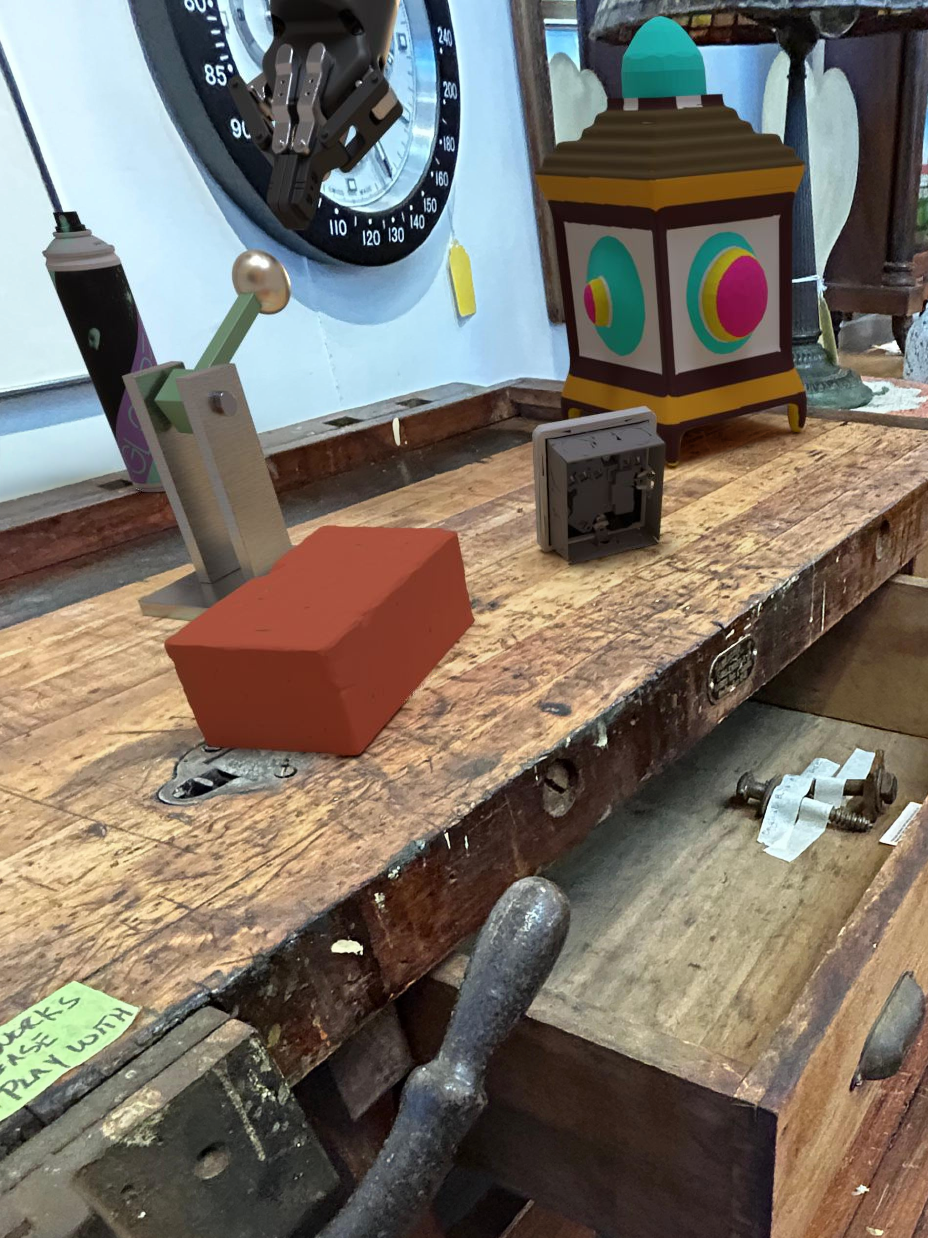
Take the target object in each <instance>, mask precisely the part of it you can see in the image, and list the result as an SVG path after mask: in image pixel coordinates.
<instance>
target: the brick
mask: <svg viewBox="0 0 928 1238" xmlns="http://www.w3.org/2000/svg"><path fill="white" fill-rule="evenodd" d="M459 540H460V539H459V533H458V532H457V531H456V530H447V529H445V528H441V527H397V526H396V527H385V526H367V525H365V526H344V525H343V526H342V525H336V524H334V525H331V524H330V525H321V526H320V527H318V528H317V529H316V530H315V531H313V532H312V533H311V534H309V535H308V536H306V537H305V538H304V539H303V540H302V541H301V542H300V543H299V544H297V546H296V547H294V548H293V549H291V550H290V551H289V552H287V553H286V554H285V555H283V556H282V557H281V558H280V559H278V560H277V561H276V563H275V564H274V565H273V566H272V568H271V570H270V573H269V574H268V575H266V576H262V577H258V578H253V579H251V580H250V581H248V582H246V583H245V584H244V585H242V586H241V587H240V588H238V589H236V590H235V591H234V592H232V593H231V594H229V595H228V596H226V597H225V598H223V599H222V600H220V601H219V602H217V603H216V604H214V605H213V606H212V607H210V608H209V609H208V610H206V611H205V612H203V613H202V614H201V615H199V616H198V617H197V618H195V619H194V620H193V621H189V622H188V623H187V624H185V625H184V626H183V627H181V628H180V629H179V630H178V631H177V632H175V633H173V634H172V635H170V636H169V637H167V638H166V639H165V640H164V643H163V644H164V645H163V646H164V650H165V652H166V654H167V656H168V658H169V659H170V660H171V661H172V663H173V665H174V669H175V672H176V676H177V677H178V680H179V682H180V684H181V686H182V691H183V693H184V695H185V698H186V701H187V703H188V706H189V708H190V709H191V711H192V713H193V716H194V719H195V722H196V725H197V726H198V728H199V730H200V732H201V734H202V736H203V739H204V741H205V742H204V743H206V744H207V745H208V746H210V747H213V748H229V749H244V750H245V749H246V750H260V751H261V750H263V751H284V752H285V751H287V752H288V751H289V752H299V753H321V754H323V753H324V754H336V755H338V756H342V757H343V756H344V757H345V756H357V755H360V754H362V753H363V752H364V751H365V749H366V748H367V747H368V746H369V745H370V743H372V742H373V740H374V738H375V737H376V736H377V735H378V733H379V732H380V731H381V730H382V729H383V727H385V725H387V724H388V723H389V721H390V720H391V719H392V717H394V715H395V714H396V713H397V712H398V710H399V709H400V708H401V707H402V706H403V705H404V703H405V702H406V701H407V700H408V699H409V698H410V696H411V695H412V694H413V693H414V692H415V691H416V690H417V688H419V687H420V686H421V685H422V683H423V682H424V681H425V680H426V678H427V677H428V676H429V675H430V674H431V672H432V671H433V670H434V669H435V668H436V667H437V665H439V663H440V662H441V661H442V659H444V657H445V656H446V655H447V654H448V653H449V651H450V650H451V649H452V648H453V647H454V646H455V645H456V643H458V641H460V640H461V638H462V637H463V636H464V635H465V634H466V632H467V631H468V630H469V629H470V628H471V626H472V625H474V623H475V621H476V619H475V617H474V615H473V611H472V606H473V605H472V603H471V599H470V594H469V590H468V588H467V582H466V570H465V565H464V559H463V555H462V551H461V549H462V548H461V546H460V541H459Z"/></svg>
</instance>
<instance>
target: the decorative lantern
mask: <svg viewBox="0 0 928 1238" xmlns="http://www.w3.org/2000/svg"><path fill="white" fill-rule="evenodd" d="M704 62H705V61H704V57H703V54H702V52H701V51H700V48H699V47H698V46H697V44H696V43H695V42H694V40H693V39H692V38H691V37H690V35H689V34H688V32H687V31H686V30H685V29H683V27H682V26H681V25H680V24H679V23H678V22H676V21H674V20H672V19H671V18H668V17H665V16H662V15H659V16H655V17H652V18H650V19H649V20H648V21H646V22H645V23H644V24H643V25H642V26H641V27H640V28H639V29H638V30H637V31H636V33H635V35H634V36H633V38H632V40H631V42H630V43H629V45H628V47H627V49H626V51H625V52H624V54H623V56H622V63H621V73H620V75H621V94H622V97H613V98H611V97H610V98H606V109H605V110H604V111H602V112H599V113H597V114H596V115H595V117H594V120H593V123H592V124H591V125H590V126H588V127H585V128H583V130H582V132H581V135H580V138H579V139H576V140H565V141H560V142H558V143H556V144H555V148H554V152H553V153H551V154H549V155H546V156H545V157H544V158H543V159H542V164H541V167H539V168H537V169H536V170H535V171H534V177H535V180H536V182H537V185H538V186H539V189H540V191H541V192H542V194H543V197H544V199H545V200H546V202H547V204H548V207H549V209H550V210H549V211H550V213H551V217H552V224H553V232H554V233H553V234H554V242H555V248H556V257H557V264H558V274H559V281H560V289H561V298H562V305H563V306H562V307H563V315H564V324H565V331H566V338H567V339H566V340H567V348H568V356H569V365H568V366H569V367H568V372H567V374H566V375H567V376H566V378H565V382H564V385H563V389H562V391H561V395H560V410H561V412H560V413H561V417H562V421H564V420H570V419H575V418H581V417H582V411H584V412H587V413H591V414H593V415H598V414H603V413H609V412H614V411H620V410H625V409H631V408H637V407H642V406H646V407H647V408H648V409H650V410H651V411H652V412H654V414H655V415H656V417H657V426H656V434H657V435H658V436H659V437H660V438H661V439H662V440H663V441H664V442H665V444H666V450H665V462H666V465H667V466H670V467H675V466H677V465H678V463H679V460H680V454H681V453H680V452H681V443H682V442H681V441H682V437H683V435H684V434H685V433H687V432H688V431H690V430H693V429H697V428H699V427H705V426H708V425H711V424H715V423H719V422H723V421H727V420H731V419H734V418H735V419H736V418H739V417H742V416H746V415H751V414H754V413H759V412H762V411H766V410H770V409H773V408H777V407H782V406H785V405H786V409H787V421H788V426H789V428H790V430H791V431H792V432H795V433H799V432H801V431H802V430H803V429H804V427H805V424H806V422H807V413H808V397H807V393H806V388H805V387H804V383H803V382H802V379H801V377H800V375H799V373H798V372H799V371H798V370H797V367H796V366H795V362H794V356H793V213H794V212H793V209H794V202H795V198H796V194H797V192H798V189H799V187H800V184H801V181H802V179H803V177H804V173H805V169H806V162H805V160H804V159H802V158H801V157H799V156H798V155H797V153H796V151H795V149H794V148H793V147H791V146H788V145H785V144H784V142H783V141H782V138H781V136H780V135H779V134H777V133H768V132H767V133H764V132H763V133H758V132H756V131H755V130H754V128H753V124H752V123H751V122H749V121H747V120H744V119H741V118H740V116H739V114H738V111H737V110H736V109H735V108H733V107H730V106H727V105H725V102H724V101H725V100H724V93H708V92H707V89H708V88H707V77H706V66H705V63H704Z"/></svg>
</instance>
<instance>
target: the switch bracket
mask: <svg viewBox="0 0 928 1238" xmlns="http://www.w3.org/2000/svg"><path fill="white" fill-rule="evenodd" d="M173 369H187V368H186V365H185V363H184V361H181V360H180V361H179V360H170V361H166V362H164V363H163V362H162V363H159V364H158V365H156V366H153V367H150V368H147V369H143V370H140V371H137V372H133V373H130V374H127V375H123V376H122V378H123V381H124V383H125V386H126V388H127V391H128V394H129V396H130V399H131V402H132V404H133V407H134V410H135V412H136V415H137V418H138V420H139V423H140V425H141V428H142V431H143V433H144V436H145V439H146V441H147V444H148V447H149V449H150V452H151V454H152V457H153V460H154V462H155V465H156V468H157V470H158V473H159V476H160V478H161V481H162V483H163V486H164V489H165V491H164V492H165V495H166V497H167V499H168V502H169V505H170V507H171V509H172V513H173V515H174V517H175V520H176V524H177V526H178V528H179V531H180V534H181V536H182V540H183V541H184V544H185V546H186V550H187V553H188V555H189V557H190V559H191V563H192V566H193V567H194V571H192V572H191V573H188V574H186V575H184V576H182V577H181V578H179V579H177V580H175V581H173V582H170V583H169V584H167V585H165V586H163V587H161V588H159V589H157V590H156V591H154V592H152V593H150V594H148V595H146V596H144V597H142V598H140V599H139V600H137V603H138V605H139V608H140V610H141V612H142V615H143V616H147V617H156V618H164V619H173V620H181V621H188V622H191V621H193V620H194V619H195V618H197V617H198V616H199V615H201V614H202V613H203V612H205V611H206V610H208V609H209V608H210V607H212V606H213V605H214V604H216V603H217V602H219V601H220V600H222V599H223V598H225V597H226V596H228V595H229V594H231V593H232V592H234V591H235V590H236V589H238V588H240V587H241V586H242V585H244V584H245V583H246V582H248V581H250V580H251V579H253V578H258V577H262V576H266V575H268V574H269V573H270V570H271V568H272V566H273V565H274V564H275V563H276V561H277V560H278V559H280V558H281V557H282V556H283V555H285V554H286V553H287V552H289V551H290V550H291V549H293V548H294V547H296V546H297V545H298V544H297V545H295V544H292V541H291V538H290V535H289V531H288V529H287V526H286V521H285V519H284V516H283V513H282V509H281V506H280V503H279V499H278V496H277V493H276V490H275V487H274V483H273V480H272V477H271V474H270V471H269V468H268V463H267V461H266V457H265V455H264V451H263V449H262V448H263V447H262V445H261V442H260V439H259V436H258V433H257V430H256V426H255V422H254V420H253V417H252V413H251V410H250V407H249V404H248V400H247V397H246V394H245V391H244V388H243V384H242V381H241V377H240V375H239V372H238V368H237V364H236V363H235V362H230V363H220V364H217V365H214V366H211V367H208V368H205V369H202V370H199V371H195V372H192V373H189V374H186V375H183V376H180V377H177V378H175V381H176V384H177V387H178V390H179V393H180V396H181V399H182V401H183V404H184V407H185V410H186V413H187V416H188V419H189V422H190V424H191V427H192V430H193V433H194V434H186V433H179V432H178V431H177V429H176V428H175V427H174V426H173V424H172V423H171V422H170V420H169V419H168V418H167V416H166V415H165V414H164V413H163V411H162V410H161V409H160V407H159V406H158V405H157V404H156V402H155V401H154V400H155V398H156V396H157V395H158V393H159V391H160V390H161V388H162V387H163V385H164V383H165V382H166V380H167V378H168V377H169V375H170V374H171V372H172V370H173Z"/></svg>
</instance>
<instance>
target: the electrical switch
mask: <svg viewBox="0 0 928 1238" xmlns="http://www.w3.org/2000/svg"><path fill="white" fill-rule="evenodd" d="M656 426H657V417H656V415H655V414H654V412H652V411H651V410H650V409H648V408H647V407H646V406H642V407H637V408H631V409H625V410H620V411H614V412H609V413H603V414H593V415H587V416H581V418H575V419H570V420H564V421H563V420H559V421H554V422H548V423H542V424H538V425H537V426H536V428H534V430H533V432H532V434H531V437H532V438H531V439H532V440H531V441H532V442H531V443H532V459H533V460H532V461H533V463H532V464H533V481H534V485H533V486H534V503H535V505H534V506H535V527H536V543H537V544H538V546H539V547H540V549H541V551H542V552H543V553H548V552H552V551H555V552H556V554H558V555H560V556H561V557H562V558H563V560H565V561H566V562H567V563H568V565H574V564H578V563H582V562H586V561H590V560H595V559H598V558H602V557H607V556H611V554H612V555H615V554H614V553H616V554H619V553H624V552H626V551H625V550H628V551H632V549H633V550H636V548H637V549H641V548H644V547H643V546H645V547H649V546H653V545H652V544H654V545H657V543H658V544H659V543H660V541H661V526H662V511H663V494H664V478H665V464H666V463H665V462H666V460H665V450H666V444H665V442H664V441H663V440H662V439H661V438H660V436H659V435H658V433H656ZM652 482H653V484H652ZM605 541H608V543H602V542H605ZM640 547H641V548H640ZM623 551H624V552H623ZM569 559H572V560H571V561H569Z"/></svg>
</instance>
